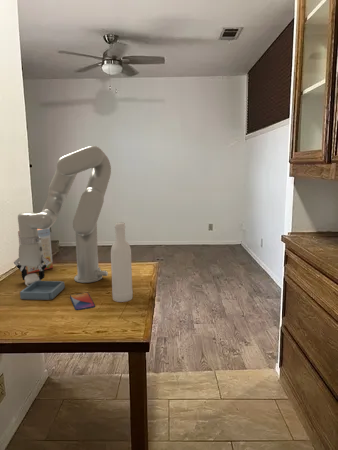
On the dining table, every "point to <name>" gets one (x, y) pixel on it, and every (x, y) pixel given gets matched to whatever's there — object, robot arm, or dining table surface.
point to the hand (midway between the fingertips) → (33, 278)
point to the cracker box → (46, 246)
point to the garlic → (31, 278)
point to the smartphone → (82, 301)
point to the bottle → (121, 266)
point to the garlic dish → (42, 290)
